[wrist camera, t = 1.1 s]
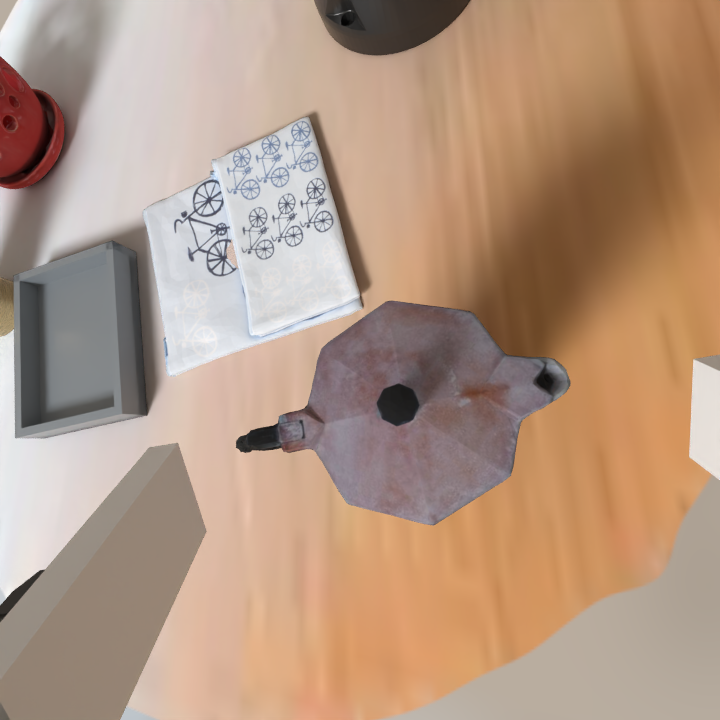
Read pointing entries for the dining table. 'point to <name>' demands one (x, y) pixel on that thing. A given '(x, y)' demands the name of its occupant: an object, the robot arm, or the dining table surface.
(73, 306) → the slate tray
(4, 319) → the cylinder
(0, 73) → the plant pot
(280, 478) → the dining table surface
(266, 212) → the bicycle print cloth
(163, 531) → the robot arm
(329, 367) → the moka pot
